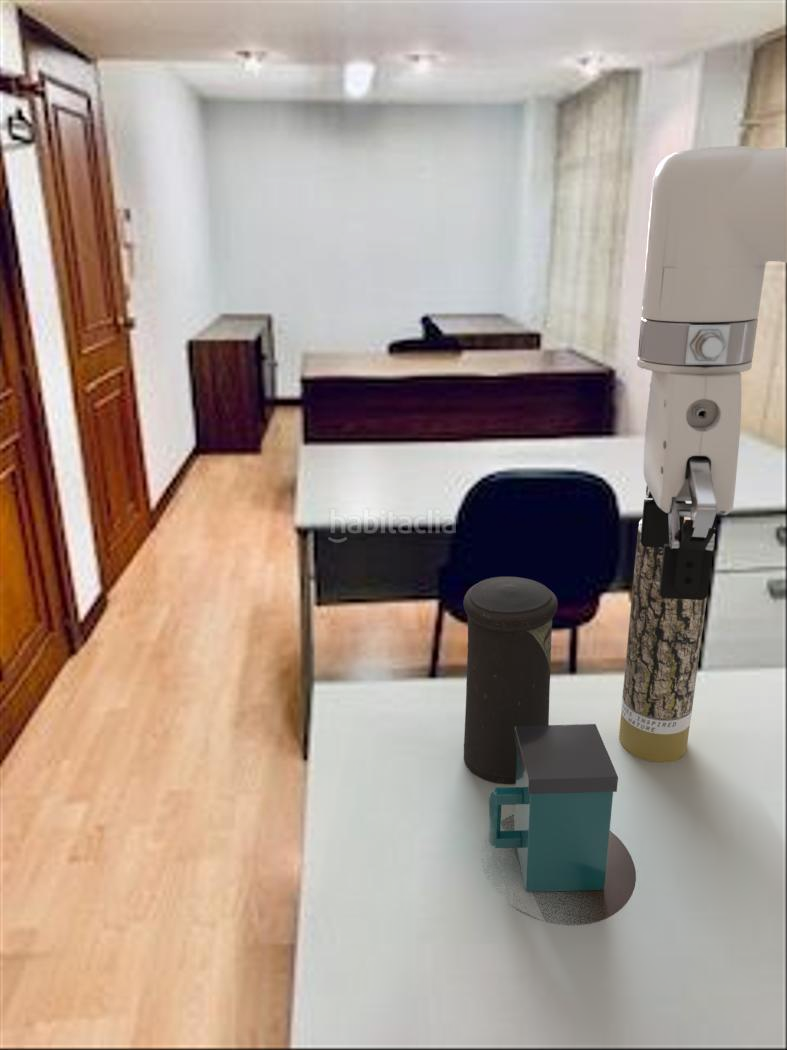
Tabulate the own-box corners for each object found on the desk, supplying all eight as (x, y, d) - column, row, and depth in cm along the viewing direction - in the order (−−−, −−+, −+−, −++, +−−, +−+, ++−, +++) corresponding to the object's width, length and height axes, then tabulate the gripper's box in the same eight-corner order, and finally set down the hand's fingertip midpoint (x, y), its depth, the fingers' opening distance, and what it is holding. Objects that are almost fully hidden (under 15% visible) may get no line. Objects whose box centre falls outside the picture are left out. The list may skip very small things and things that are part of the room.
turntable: (618, 817, 71) (619, 810, 70) (652, 937, 58) (653, 929, 58) (478, 813, 72) (478, 806, 71) (482, 930, 59) (483, 922, 59)
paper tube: (691, 772, 76) (723, 541, 67) (621, 765, 77) (643, 537, 69) (680, 731, 82) (707, 515, 74) (615, 726, 84) (634, 512, 75)
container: (565, 778, 76) (577, 598, 69) (485, 803, 73) (489, 617, 66) (521, 730, 83) (527, 563, 76) (447, 751, 80) (446, 579, 73)
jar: (587, 831, 68) (595, 723, 64) (607, 892, 62) (618, 777, 58) (483, 833, 68) (485, 726, 64) (492, 895, 62) (495, 780, 58)
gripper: (793, 364, 44) (752, 625, 50) (722, 330, 60) (698, 531, 66) (659, 364, 46) (635, 619, 52) (624, 331, 61) (609, 529, 67)
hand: (670, 569), depth 59 cm, fingers open, 9 cm apart
